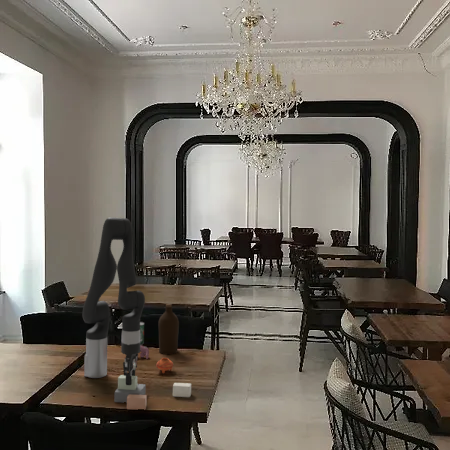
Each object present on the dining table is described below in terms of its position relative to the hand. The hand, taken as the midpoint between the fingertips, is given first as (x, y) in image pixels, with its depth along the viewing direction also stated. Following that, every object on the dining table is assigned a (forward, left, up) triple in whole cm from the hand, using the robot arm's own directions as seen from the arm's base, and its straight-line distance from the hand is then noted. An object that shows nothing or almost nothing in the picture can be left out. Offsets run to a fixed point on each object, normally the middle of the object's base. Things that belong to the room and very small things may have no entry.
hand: (130, 382), depth 213 cm
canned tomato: (-17, +76, -7) cm, 78 cm away
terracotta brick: (+5, -9, -7) cm, 12 cm away
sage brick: (-1, 0, -2) cm, 3 cm away
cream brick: (+20, +6, -7) cm, 22 cm away
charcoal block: (0, 0, -6) cm, 6 cm away
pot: (+7, +33, -7) cm, 35 cm away
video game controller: (-9, +51, -7) cm, 53 cm away
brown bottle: (+3, +64, -7) cm, 64 cm away
